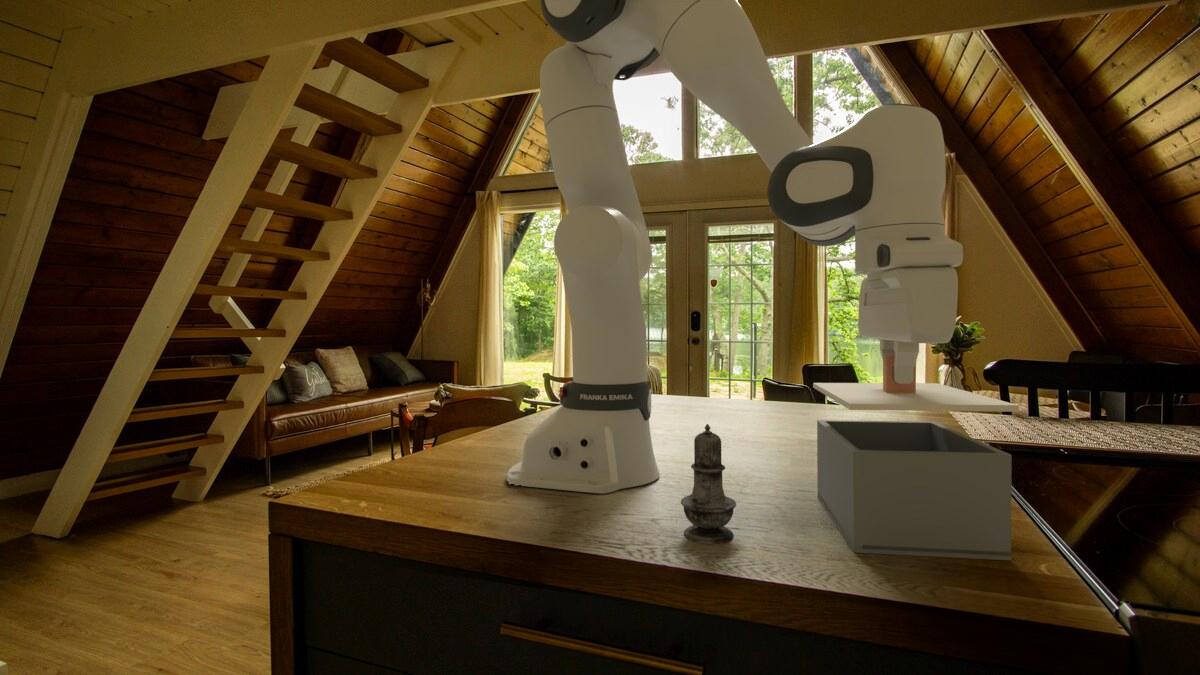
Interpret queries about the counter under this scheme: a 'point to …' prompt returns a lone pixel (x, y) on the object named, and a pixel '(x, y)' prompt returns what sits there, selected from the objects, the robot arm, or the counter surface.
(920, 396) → the lid
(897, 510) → the box
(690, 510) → the salt shaker
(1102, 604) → the counter surface
